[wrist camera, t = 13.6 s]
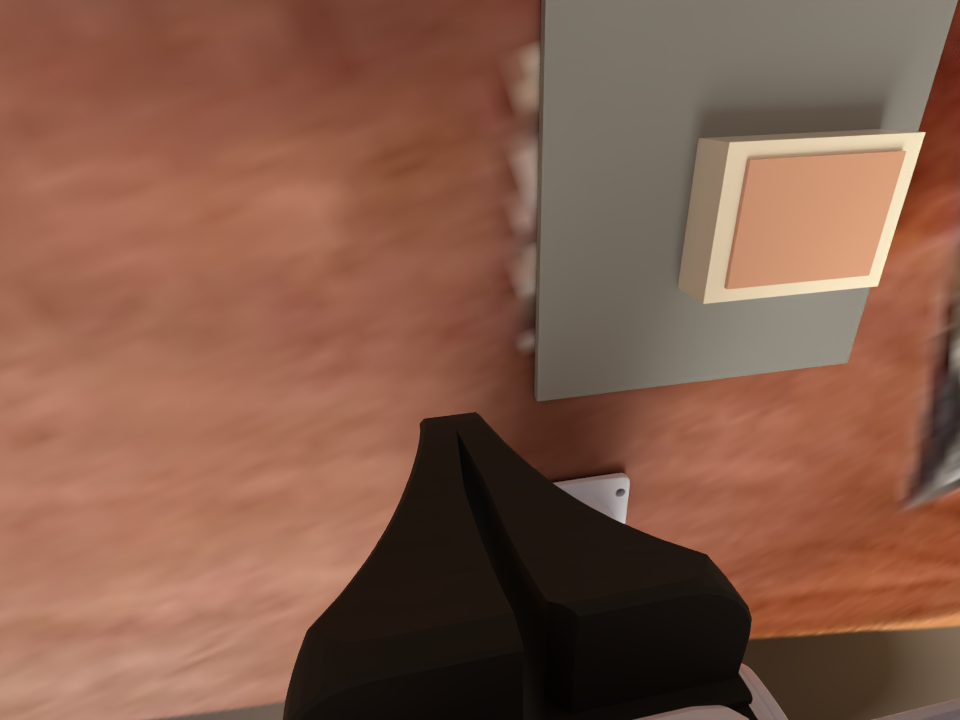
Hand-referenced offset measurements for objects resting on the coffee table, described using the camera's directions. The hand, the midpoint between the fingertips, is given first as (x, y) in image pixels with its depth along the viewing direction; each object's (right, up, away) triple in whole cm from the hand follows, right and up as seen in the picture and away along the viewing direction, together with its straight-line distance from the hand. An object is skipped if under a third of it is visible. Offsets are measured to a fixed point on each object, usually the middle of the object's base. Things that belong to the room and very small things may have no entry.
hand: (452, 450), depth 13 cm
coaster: (+9, +7, +8) cm, 15 cm away
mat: (+11, +8, +10) cm, 17 cm away
